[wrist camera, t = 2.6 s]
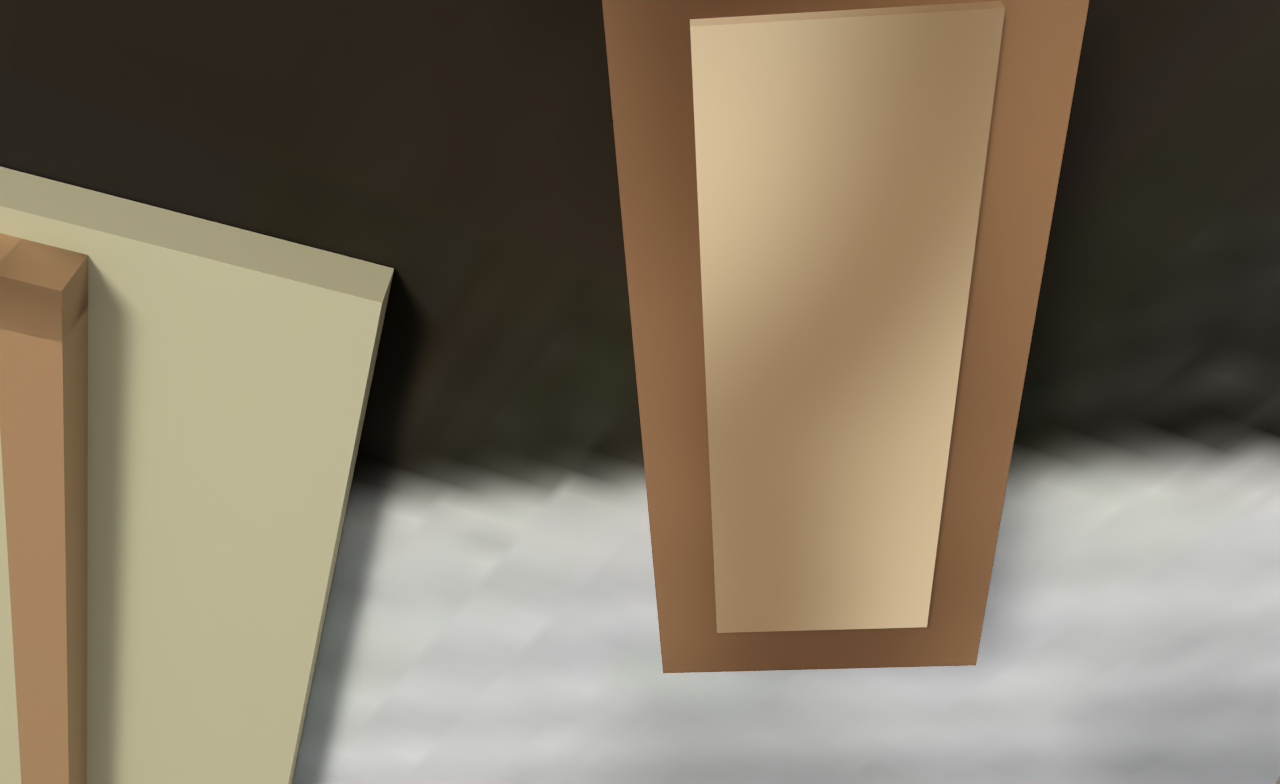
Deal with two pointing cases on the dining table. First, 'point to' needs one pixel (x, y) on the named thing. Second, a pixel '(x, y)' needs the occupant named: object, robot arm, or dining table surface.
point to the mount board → (168, 485)
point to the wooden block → (833, 310)
